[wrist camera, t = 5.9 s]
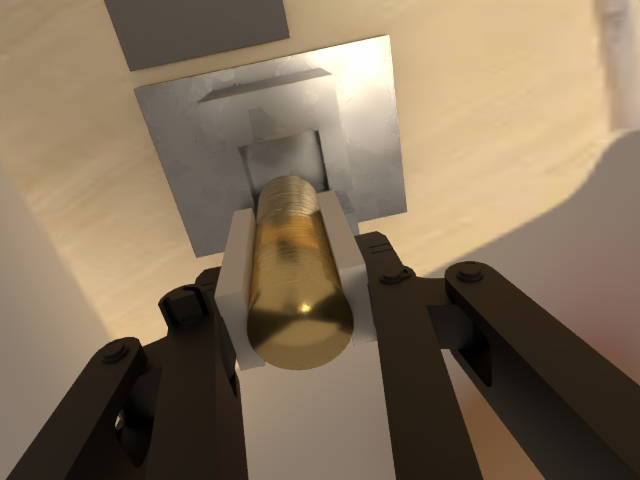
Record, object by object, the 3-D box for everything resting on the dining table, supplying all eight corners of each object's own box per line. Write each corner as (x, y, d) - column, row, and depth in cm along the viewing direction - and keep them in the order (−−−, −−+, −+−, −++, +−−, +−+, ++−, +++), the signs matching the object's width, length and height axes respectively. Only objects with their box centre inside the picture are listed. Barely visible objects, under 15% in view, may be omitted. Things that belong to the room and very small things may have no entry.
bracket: (138, 87, 26) (95, 102, 20) (385, 35, 26) (420, 33, 20) (198, 251, 31) (180, 303, 25) (403, 206, 32) (435, 247, 25)
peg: (251, 182, 20) (233, 296, 11) (312, 169, 20) (344, 272, 11) (266, 237, 21) (261, 379, 12) (323, 225, 21) (360, 357, 12)
